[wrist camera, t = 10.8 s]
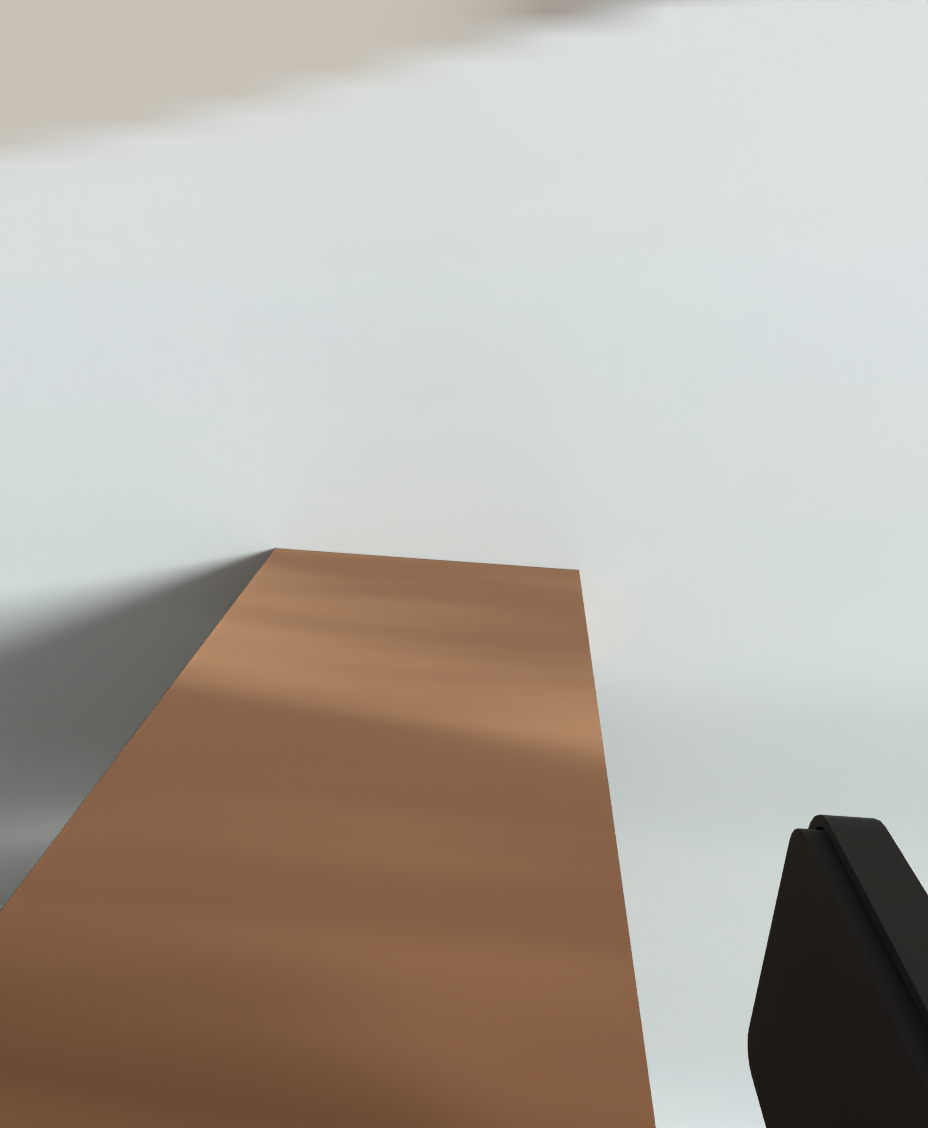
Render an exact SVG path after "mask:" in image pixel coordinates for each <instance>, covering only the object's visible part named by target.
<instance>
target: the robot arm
mask: <svg viewBox="0 0 928 1128" xmlns="http://www.w3.org/2000/svg"><path fill="white" fill-rule="evenodd" d="M748 1058H749V1066H750V1070H751V1075H752V1078H753V1082H754V1086H755V1089H756V1093H757V1096H758V1100H759V1103H760V1107H761V1111H762V1114H763V1118H764V1121H765V1125H766V1128H928V895H927V893H926V892H925V890H924V888H923V887H922V885H921V883H920V882H919V880H918V879H917V877H916V875H915V874H914V872H913V870H912V869H911V867H910V866H909V864H908V862H907V861H906V859H905V858H904V856H903V854H902V853H901V851H900V849H899V848H898V846H897V845H896V843H895V841H894V840H893V838H892V836H891V835H890V833H889V832H888V830H887V828H886V827H885V826H884V825H883V824H882V822H881V821H879V820H877V819H874V818H859V817H845V816H831V815H817V816H815V817H814V818H813V819H812V821H811V822H810V825H809V828H808V829H799V828H798V829H795V830H794V831H793V833H792V834H791V838H790V841H789V845H788V850H787V854H786V859H785V864H784V868H783V873H782V878H781V882H780V887H779V891H778V896H777V901H776V905H775V910H774V915H773V919H772V924H771V929H770V933H769V938H768V942H767V947H766V952H765V956H764V961H763V966H762V970H761V975H760V979H759V984H758V989H757V993H756V998H755V1003H754V1007H753V1012H752V1017H751V1021H750V1026H749V1032H748Z"/></svg>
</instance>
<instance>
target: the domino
mask: <svg viewBox="0 0 928 1128" xmlns="http://www.w3.org/2000/svg"><path fill="white" fill-rule="evenodd" d="M0 1128H656V1127H655V1119H654V1112H653V1105H652V1097H651V1090H650V1083H649V1076H648V1068H647V1061H646V1054H645V1047H644V1039H643V1032H642V1025H641V1018H640V1010H639V1003H638V996H637V989H636V981H635V974H634V967H633V960H632V952H631V945H630V938H629V930H628V923H627V916H626V909H625V901H624V894H623V887H622V880H621V872H620V865H619V858H618V851H617V843H616V836H615V829H614V822H613V814H612V807H611V800H610V792H609V785H608V778H607V771H606V763H605V756H604V749H603V742H602V734H601V727H600V720H599V713H598V705H597V698H596V691H595V684H594V676H593V669H592V662H591V655H590V647H589V640H588V633H587V626H586V618H585V611H584V604H583V596H582V589H581V582H580V575H579V570H568V569H554V568H540V567H527V566H513V565H499V564H485V563H471V562H457V561H443V560H429V559H416V558H402V557H388V556H374V555H360V554H346V553H332V552H319V551H305V550H291V549H277V548H275V549H274V551H273V552H272V553H271V554H270V556H269V557H268V558H267V560H266V561H265V562H264V564H263V565H262V566H261V568H260V569H259V570H258V572H257V573H256V574H255V576H254V577H253V578H252V580H251V581H250V582H249V584H248V585H247V586H246V587H245V589H244V590H243V591H242V593H241V594H240V595H239V597H238V598H237V599H236V601H235V602H234V603H233V605H232V606H231V607H230V609H229V610H228V611H227V613H226V614H225V615H224V617H223V618H222V619H221V620H220V622H219V623H218V624H217V626H216V627H215V628H214V630H213V631H212V632H211V634H210V635H209V636H208V638H207V639H206V640H205V642H204V643H203V644H202V646H201V647H200V648H199V650H198V651H197V652H196V653H195V655H194V656H193V657H192V659H191V660H190V661H189V663H188V664H187V665H186V667H185V668H184V669H183V671H182V672H181V673H180V675H179V676H178V677H177V679H176V680H175V681H174V682H173V684H172V685H171V686H170V688H169V689H168V690H167V692H166V693H165V694H164V696H163V697H162V698H161V700H160V701H159V702H158V704H157V705H156V706H155V708H154V709H153V710H152V712H151V713H150V714H149V715H148V717H147V718H146V719H145V721H144V722H143V723H142V725H141V726H140V727H139V729H138V730H137V731H136V733H135V734H134V735H133V737H132V738H131V739H130V741H129V742H128V743H127V745H126V746H125V747H124V748H123V750H122V751H121V752H120V754H119V755H118V756H117V758H116V759H115V760H114V762H113V763H112V764H111V766H110V767H109V768H108V770H107V771H106V772H105V774H104V775H103V776H102V778H101V779H100V780H99V781H98V783H97V784H96V785H95V787H94V788H93V789H92V791H91V792H90V793H89V795H88V796H87V797H86V799H85V800H84V801H83V803H82V804H81V805H80V807H79V808H78V809H77V810H76V812H75V813H74V814H73V816H72V817H71V818H70V820H69V821H68V822H67V824H66V825H65V826H64V828H63V829H62V830H61V832H60V833H59V834H58V836H57V837H56V838H55V840H54V841H53V842H52V843H51V845H50V846H49V847H48V849H47V850H46V851H45V853H44V854H43V855H42V857H41V858H40V859H39V861H38V862H37V863H36V865H35V866H34V867H33V869H32V870H31V871H30V873H29V874H28V875H27V876H26V878H25V879H24V880H23V882H22V883H21V884H20V886H19V887H18V888H17V890H16V891H15V892H14V894H13V895H12V896H11V898H10V899H9V900H8V902H7V903H6V904H5V906H4V907H3V908H2V909H1V911H0Z"/></svg>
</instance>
